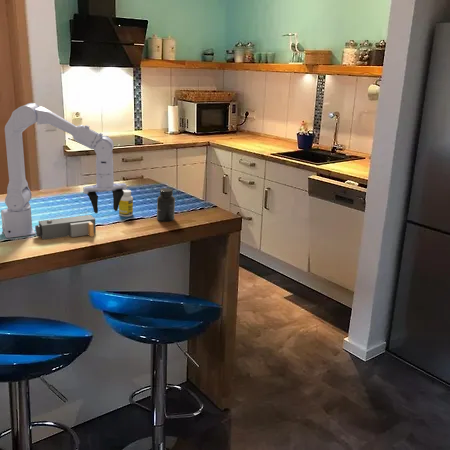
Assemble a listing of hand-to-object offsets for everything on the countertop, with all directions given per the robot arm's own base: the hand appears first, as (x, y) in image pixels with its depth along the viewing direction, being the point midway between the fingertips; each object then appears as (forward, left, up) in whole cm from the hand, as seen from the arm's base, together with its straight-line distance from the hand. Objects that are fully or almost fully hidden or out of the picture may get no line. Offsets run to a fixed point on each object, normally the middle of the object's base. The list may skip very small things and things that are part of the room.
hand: (105, 211), depth 173 cm
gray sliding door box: (-12, +6, -8) cm, 16 cm away
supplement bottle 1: (+14, +18, -9) cm, 24 cm away
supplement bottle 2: (+26, +7, -9) cm, 28 cm away
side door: (-8, +1, -8) cm, 12 cm away
